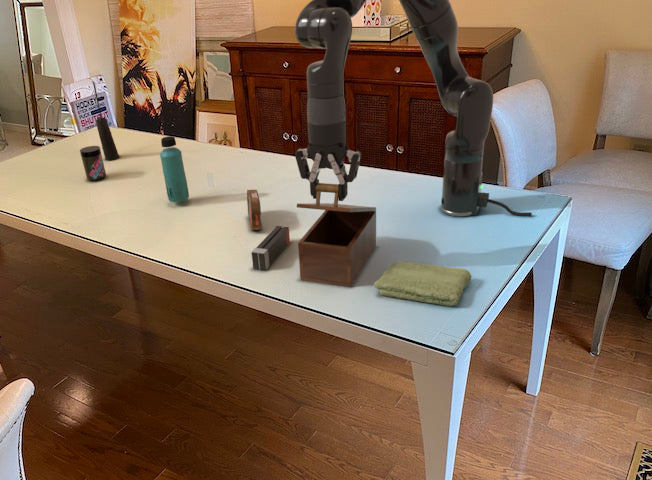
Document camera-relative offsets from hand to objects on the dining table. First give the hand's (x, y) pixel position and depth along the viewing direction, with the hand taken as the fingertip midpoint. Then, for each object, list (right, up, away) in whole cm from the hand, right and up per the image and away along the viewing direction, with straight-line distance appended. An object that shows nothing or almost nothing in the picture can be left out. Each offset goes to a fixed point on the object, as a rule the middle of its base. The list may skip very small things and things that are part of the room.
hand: (329, 198), depth 131 cm
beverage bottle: (-38, +7, +55) cm, 67 cm away
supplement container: (-70, +20, +81) cm, 109 cm away
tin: (-16, -1, +37) cm, 40 cm away
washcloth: (+20, -19, +1) cm, 28 cm away
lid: (+3, -1, +7) cm, 7 cm away
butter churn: (-70, +31, +100) cm, 126 cm away
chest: (+4, -13, +14) cm, 19 cm away
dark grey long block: (-12, -11, +20) cm, 26 cm away
